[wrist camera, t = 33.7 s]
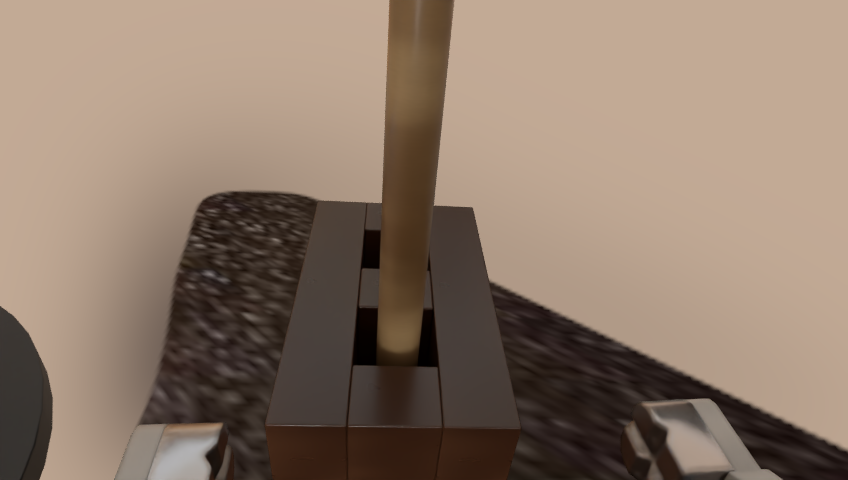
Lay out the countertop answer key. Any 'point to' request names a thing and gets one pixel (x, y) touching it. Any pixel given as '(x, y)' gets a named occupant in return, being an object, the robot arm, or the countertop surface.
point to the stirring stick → (410, 169)
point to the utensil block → (391, 385)
